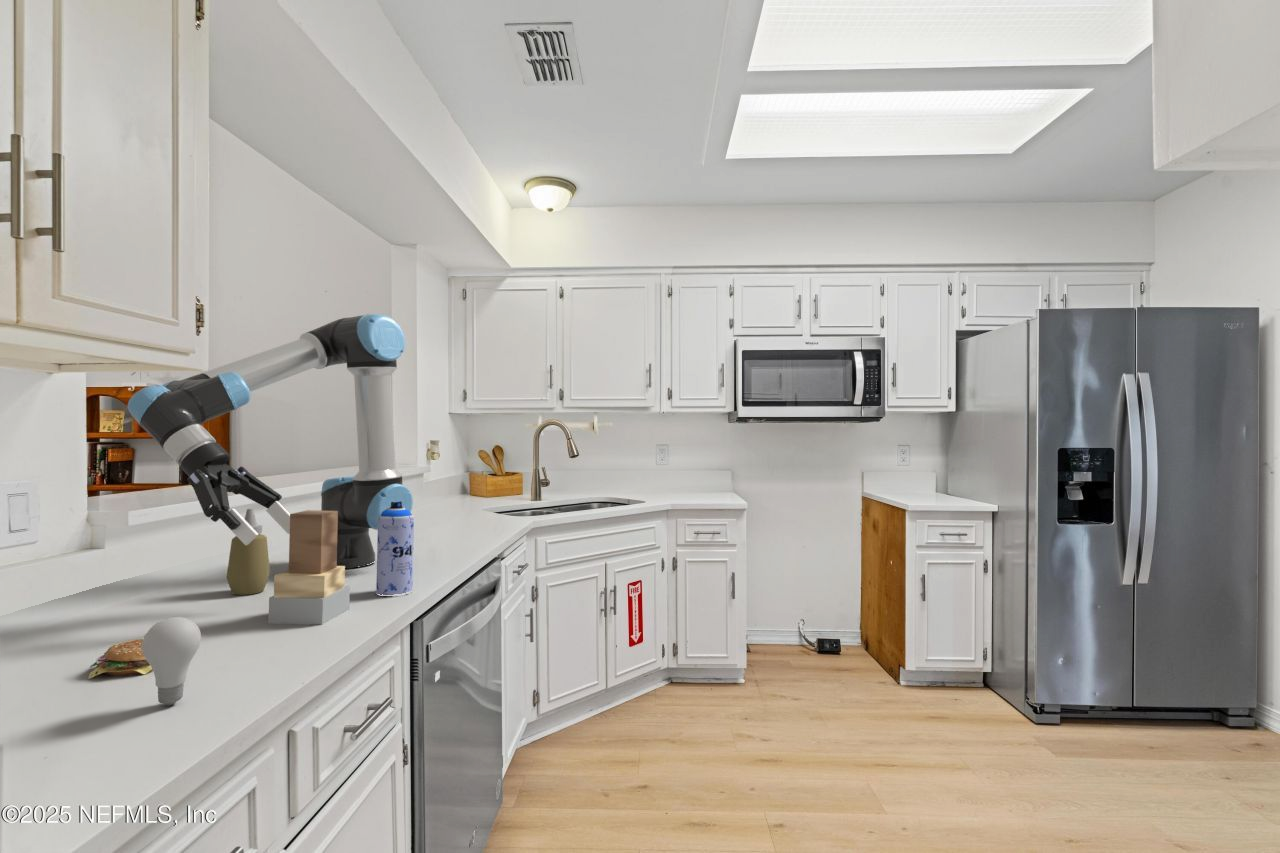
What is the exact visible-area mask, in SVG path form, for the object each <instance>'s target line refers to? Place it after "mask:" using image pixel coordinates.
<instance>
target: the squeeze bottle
mask: <svg viewBox="0 0 1280 853" xmlns="http://www.w3.org/2000/svg"><path fill="white" fill-rule="evenodd" d="M244 519H245V520H246V521H247V522H248V523H249V524H250V526H251V527H252V528H253V529H254V530H255V531H256V532H257V533H258V534H259V535H258V536H257V537H256V538H255V539H254V540H253V541H252V542H250V543H249V544H248V545H245V544H244V543H243V542H242V541H241V540H240V539H239V538H238V537H237V536H236V535H235V536H234V537H233V538H232V539H231V542H230V543H231V544H230V550H229V551H230V552H229V556H228V563H227V570H226V571H227V572H226V581H227V584H228V586H229V588H230V592H231V593H232V594H233V595H239V596H249V595H255V594H258V593H262V592H264V590H265V587H266V585H267V583H268V579H269V577H270V574H271V571H270V559H269V549H268V537H267V536H266V535H264V534H263V525H261V524H257V519H256V514H255V510H254V508H247V509H246V512H245V515H244Z"/></svg>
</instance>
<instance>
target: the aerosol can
mask: <svg viewBox="0 0 1280 853" xmlns="http://www.w3.org/2000/svg"><path fill="white" fill-rule="evenodd" d="M414 527H415V517H414V514H412V511H411V512H410V511H409V510H407V509H405V508H404V507H402V501H400V502H391V507H390V508H388V509H386V510H384V511H383V512H382V513H381V515H379V518H378V530H377V544H376V545H377V546H376V547H377V548H376V549H377V553H376V584H375V586H376V587H375V588H376V590H375V593H376V594H380V595H382V594H383V595H394V594H402V593H406V592H409V591H411V590H412V588H413V586H414V585H413V582H414V581H413V577H414V576H413V574H414V542H415V541H414V538H415V537H414V536H415V534H414V532H415V531H414V530H415V528H414Z"/></svg>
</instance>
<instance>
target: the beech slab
mask: <svg viewBox="0 0 1280 853" xmlns="http://www.w3.org/2000/svg"><path fill="white" fill-rule="evenodd" d="M273 577H274V580H273V581H274V584H273V596H274V598H325V597H326V596H328V595H330V594H332V593H334V592H335V591H337V590H339V589H341V588H343V587H344V586H346V569H345V566H337V567H336V568H334V569H331V570H329V571H327V572H324V573H322V574H298V573H289V569H287V570H285V571H282V572H280V573H278V574H275V575H274V576H273Z"/></svg>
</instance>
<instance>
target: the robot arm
mask: <svg viewBox="0 0 1280 853" xmlns="http://www.w3.org/2000/svg"><path fill="white" fill-rule="evenodd" d="M405 348H406V338H405V334H404V331H403V330H402V328H401V326H400V325H399V324H398V323H397V321H395V319H393V318H391V317H390V316H388V315H385V314H380V313H379V314H373V313H372V314H369V313H367V314H364V315H357V316H351V317H343V318H339V319H336V320H334V321H331V322H329V323H327V324H324V325H321V326H320V327H317V328H315V329H312V330H310V331H307V332H304V333H301V334H300V335H299V339H296V340H294V341H290V342H288V343H284V344H282V345H279V346H276V347H273V348H271V349H268V350H265V351H263V352H259V353H256V354H253V355H251V356H247V357H244V358H242V359H239V360H235V361H233V362H230V363H227V364H224V365H221V366H218V367H216V368H213V369H209V370H207V371H203V372H200V373H198V374H196V375H192V376H190V377H186V378H183V379H181V380H180V379H179V380H172V381H168V382H166V383H164V384H162V385H161V384H157V385H150V386H149V385H148V386H146V387H144V388H141V389H140V390H138V391H136V392H135V393H134V394H133V395H132V396H131V397H130V398H129V400H128V403H127V410H128V412H129V413H130V415H131V416H132V417H133V419H134V420H135V421H136V422H137V424H138V426H140V427H141V428H142V429H143V430H144V431H146V433H148V434H149V436H150V437H151V438H152V439H153V440H155V442H156V443H157V444H158V445H159V446H160V447H161V448H162V450H164V451H165V452H166V453H167V454H168V455H169V457H170V459H171V460H173V461H174V462H175V463H176V464H177V465H179V466H180V469H181V470H182V471H183V472H184V473H185V474H186V475H187V476H188V478H186V481H187V482H188V483H189V484H190V486H191V487H192V488H193V490H194V494H195V495H196V498H197V500H198V502H199V505H200V507H201V510H202V512H203V514H204V516H205V517H207V518H210V520H211V521H213V522H214V523H217V521H219V520H221V521H222V522H223V523H224V524H225V525H226V527H228V529H229V530H230V531H231V532H232V533H233V534H234V535H235V536H237V537H238V538H239V539H240V540H241V541H242V542H243V543H244V544H245V545H248V544H249V543H250V542H252V541H253V540H254V539H255V538H256V537H257V536H258V535H259V534H258V533H257V532H256V531H255V530H254V529H253V528H252V527H251V526H250V524H249V523H248V522H247V521H246V520H245V517H243V515H241V514H240V513H239V512H238V510H236V509H235V508H231V509H230V501H229V495H228V493H232V494H235V495H241V496H243V497H245V498H248V500H251V501H252V502H255V503H257V504H259V505H261V506H263V507H264V508H266V512H267V514H269V516H270V517H271V518H272V519H273V520H274V521H275V522H276V523H277V524H278V525H279V526H280V527H281V529H282V530H284V531H285V533H286V534H288V535H290V514H291V513H290V512H289V511H288V510H287V509H286V508H285V507H284V506H283V505H282V503H280V501H281V499H282V498H283V495H282V494H280V493H278V492H277V491H276V490H275V489H273V488H271V487H270V486H269V485H267V484H266V483H264V482H263V481H261V480H260V479H258V478H257V477H256V476H254V475H253V474H252V473H250V472H249V471H248V470H247V469H246V468H245V467H244V466H239V467H238V468H237V469H234V468H233V467H231V466H230V463H229V462H230V461H231V456H230V453H228V451H227V450H225V449H224V448H223V446H222V445H221V444H220V443H218V442H217V439H215V437H214V436H212V435H211V433H210V432H209V431H208V430H207V429H206V428H205V427H204V426H203V425H202V424H203V423H206V422H207V421H211V420H213V419H215V418H217V417H220V416H223V415H225V414H228V413H231V412H232V411H237V410H238V409H240V408H241V407H243V406H245V405H247V404H248V403H249V402H250V400H251V393H252V392H254V391H256V390H259V389H261V388H264V387H266V386H269V385H272V384H275V383H277V382H280V381H282V380H285V379H287V378H290V377H293V376H295V375H298V374H300V373H303V372H305V371H308V370H310V369H311V370H312V369H313V368H314V369H316V370H321V369H325V368H326V367H330V366H335V365H341V364H346V370H347V371H348V372H349V373H350V374H352V375H353V377H354V396H355V397H354V399H355V400H354V401H355V415H356V416H355V417H356V434H357V435H356V436H357V456H358V457H357V458H358V471H357V473H356V474H355V475H353V476H344V477H334V478H328V479H325V480H324V481H323V483H322V485H321V486H322V487H321V492H320V496H321V503H320V504H321V509H320V511H338V528H337V566H345V568H349V569H354V568H353V567H358V566H363V565H367V564H370V563H372V562H374V561H375V562H376V553H375V550H374V546H373V543H372V540H371V537H370V533H369V532H370V529H373V530H375V531H378V518H379V515H381V513H382V512H383V511H384V510H386V509H388V508H390V507H391V502H400V501H402V507H404V508H405V509H407V510H409V511H410V512H411V513H412V510H413V505H414V500H413V494H412V492H411V490H409V488H408V487H407V486H405V485H404V484H403V474H402V473H401V472H400V471H398V469H397V467H396V453H395V434H394V432H395V431H394V414H393V413H394V412H393V393H392V392H393V391H392V375H393V374H394V372H395V371H396V370H397V369H398V368H397V367H398V366H397V365H398V364H397V359H399V358H400V357H401V356H402V354H403V353H404V351H405ZM358 568H359V567H358Z"/></svg>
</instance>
